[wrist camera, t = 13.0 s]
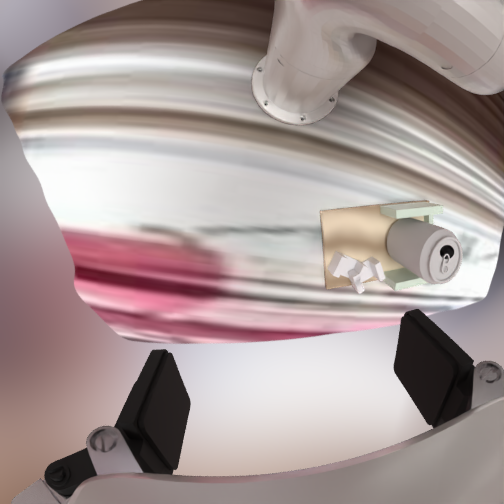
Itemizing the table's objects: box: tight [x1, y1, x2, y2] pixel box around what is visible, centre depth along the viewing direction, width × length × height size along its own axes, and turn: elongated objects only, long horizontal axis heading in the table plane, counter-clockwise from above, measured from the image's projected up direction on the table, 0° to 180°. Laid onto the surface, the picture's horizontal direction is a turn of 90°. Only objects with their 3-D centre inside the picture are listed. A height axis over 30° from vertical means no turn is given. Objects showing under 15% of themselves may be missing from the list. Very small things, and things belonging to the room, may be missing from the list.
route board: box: [320, 200, 429, 289], centre depth 39 cm, size 12×20×1 cm, turn 98°
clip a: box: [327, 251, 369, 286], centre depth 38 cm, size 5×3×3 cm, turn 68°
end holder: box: [380, 202, 443, 291], centre depth 36 cm, size 12×10×5 cm
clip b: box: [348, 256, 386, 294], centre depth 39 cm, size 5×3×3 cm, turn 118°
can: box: [387, 217, 462, 284], centre depth 33 cm, size 8×8×12 cm
